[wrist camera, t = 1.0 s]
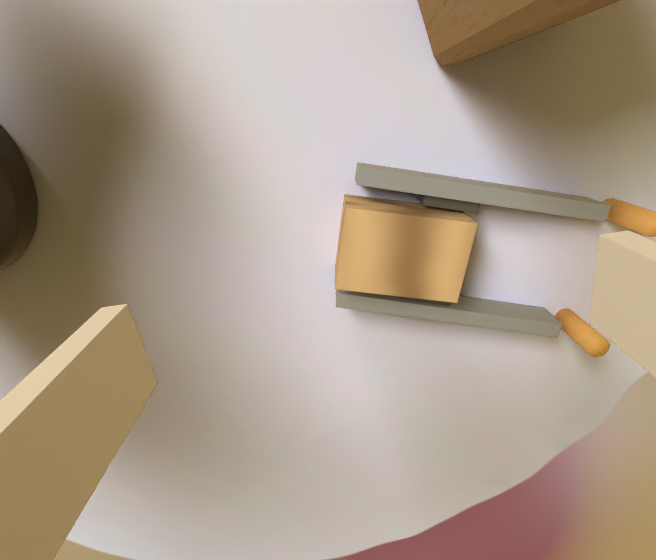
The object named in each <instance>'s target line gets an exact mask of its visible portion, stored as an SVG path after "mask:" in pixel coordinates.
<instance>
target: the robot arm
mask: <svg viewBox="0 0 656 560" xmlns="http://www.w3.org/2000/svg"><path fill="white" fill-rule="evenodd" d="M36 220H37V200H36V193H35V189H34V185H33V181H32V178H31V175H30V173H29V170H28V168H27V166H26V164H25V161H24V160H23V158H22V156H21V154H20V152H19V151H18V149H17V147H16V146H15V145H14V143H13V142H12V140H11V139H10V138H9V136H8V135H7V134H6V133H5V131H4V130H3V129H2V128H1V127H0V269H2V268H4V267H6V266H8V265H10V264H11V263H13V262H14V261H15V260H16V259H17V258H19V257H20V256H21V254H22V253H23V252H24V251H25V249H26V248H27V246H28V245H29V243H30V241H31V239H32V236H33V234H34V230H35V226H36ZM589 324H590V325H592V326H593V327H594V328H595V329H597V330H598V331H599V332H600V333H601V334H603V335H604V336H605V337H606V338H608V339H609V340H610V341H611V342H612V343H614V344H615V345H616V346H617V347H619V348H620V349H621V350H622V351H623V352H625V353H626V354H627V355H628V356H630V357H631V358H632V359H633V360H634V361H636V362H637V363H638V364H639V365H641V366H642V367H643V368H644V369H645V370H647V371H648V372H649V373H651V374H652V375H653V376H654V377H655V378H656V241H653V240H651V239H648V238H646V237H643V236H641V235H639V234H636V233H634V232H631V231H629V230H627V231H620V232H614V233H607V234H600V235H599V241H598V250H597V259H596V268H595V277H594V286H593V295H592V304H591V313H590V321H589ZM157 383H158V382H157V379H156V376H155V374H154V371H153V369H152V366H151V364H150V361H149V358H148V356H147V353H146V351H145V348H144V345H143V343H142V340H141V338H140V335H139V332H138V330H137V327H136V325H135V322H134V319H133V317H132V314H131V312H130V309H129V306H128V304H122V305H115V306H108V307H101V308H100V309H99V310H98V311H97V312H96V313H95V314H94V315H93V316H92V317H91V318H89V319H88V320H87V321H86V322H85V323H84V324H83V325H82V326H81V327H80V328H79V329H78V330H76V331H75V332H74V333H73V334H72V335H71V336H70V337H69V338H68V339H67V340H66V341H64V342H63V343H62V344H61V345H60V346H59V347H58V348H57V349H56V350H55V351H54V352H52V353H51V354H50V355H49V356H48V357H47V358H46V359H45V360H44V361H43V362H42V363H41V364H39V365H38V366H37V367H36V368H35V369H34V370H33V371H32V372H31V373H30V374H29V375H27V376H26V377H25V378H24V379H23V380H22V381H21V382H20V383H19V384H18V385H17V386H16V387H14V388H13V389H12V390H11V391H10V392H9V393H8V394H7V395H6V396H5V397H4V398H2V399H1V400H0V560H53V559H54V558H55V556H56V554H57V552H58V551H59V549H60V547H61V546H62V544H63V542H64V541H65V539H66V537H67V536H68V534H69V532H70V530H71V529H72V527H73V525H74V524H75V522H76V520H77V519H78V517H79V515H80V514H81V512H82V510H83V508H84V507H85V505H86V503H87V502H88V500H89V498H90V497H91V495H92V493H93V492H94V490H95V488H96V486H97V485H98V483H99V481H100V480H101V478H102V476H103V475H104V473H105V471H106V470H107V468H108V466H109V464H110V463H111V461H112V459H113V458H114V456H115V454H116V453H117V451H118V449H119V447H120V446H121V444H122V442H123V441H124V439H125V437H126V436H127V434H128V432H129V431H130V429H131V427H132V425H133V424H134V422H135V420H136V419H137V417H138V415H139V414H140V412H141V410H142V409H143V407H144V405H145V403H146V402H147V400H148V398H149V397H150V395H151V393H152V392H153V390H154V388H155V387H156V385H157Z"/></svg>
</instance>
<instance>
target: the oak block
mask: <svg viewBox="0 0 656 560" xmlns="http://www.w3.org/2000/svg"><path fill="white" fill-rule="evenodd" d="M477 226H478V223H477V222H476V221H474V220H473V219H472V218H470V217H469V216H468V215H467V214H465V213H464V212H463V211H459V210H452V209H446V208H439V207H432V206H426V205H422V204H421V203H413V202H404V201H396V200H388V199H379V198H371V197H362V196H354V195H346V194H345V195H344V202H343V210H342V218H341V225H340V233H339V240H338V248H337V256H336V263H335V289H337V290H346V291H355V292H364V293H373V294H382V295H391V296H400V297H409V298H418V299H427V300H436V301H444V302H453V303H457V302H458V298H459V294H460V290H461V287H462V283H463V279H464V275H465V271H466V268H467V264H468V260H469V256H470V252H471V248H472V245H473V241H474V237H475V233H476V229H477Z"/></svg>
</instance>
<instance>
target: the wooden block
mask: <svg viewBox="0 0 656 560" xmlns="http://www.w3.org/2000/svg"><path fill="white" fill-rule="evenodd" d="M617 1H620V0H418V3H419V6H420V10H421V13H422V17H423V20H424V23H425V27H426V30H427V34H428V37H429V41H430V44H431V48H432V51H433V54H434V57H435V58H436V59H437V61H438V62H439V63H440V64H441V65H455V64H457V63H460V62H463V61H465V60H468V59H470V58H473V57H475V56H478V55H481V54H483V53H486V52H488V51H491V50H493V49H496V48H499V47H501V46H504V45H506V44H509V43H511V42H514V41H517V40H519V39H522V38H524V37H527V36H530V35H532V34H535V33H537V32H540V31H542V30H545V29H548V28H550V27H553V26H555V25H558V24H560V23H563V22H566V21H568V20H571V19H573V18H576V17H578V16H581V15H584V14H586V13H589V12H591V11H594V10H597V9H599V8H602V7H604V6H607V5H609V4H612V3H615V2H617Z"/></svg>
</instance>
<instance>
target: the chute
mask: <svg viewBox="0 0 656 560" xmlns="http://www.w3.org/2000/svg"><path fill="white" fill-rule="evenodd" d="M355 181H356V184H357V185H361V186H368V187H374V188H381V189H388V190H394V191H401V192H408V193H414V194H417V199H418V200H419V201H420V203H421V204H422V205H426V206H432V207H439V208H446V209H452V210H459V211H466V212H472V213H477V211H478V207H479V204H480V203H481V204H487V205H494V206H501V207H507V208H514V209H521V210H527V211H534V212H541V213H547V214H554V215H561V216H567V217H574V218H580V219H587V220H594V221H600V222H605V220H609V221H611V222H614V223H616V224H619V225H621V226H624V227H626V228H629V229H631V230H634V231H636V232H639V233H641V234H644V235H646V236H649V237H654V236H656V212H654V211H651V210H648V209H645V208H642V207H638V206H635V205H632V204H629V203H626V202H623V201H619V200H616V199H607V200H605V201H604V202H599V201H596V200H593V199H590V198H587V197H581V196H575V195H568V194H562V193H555V192H548V191H542V190H535V189H529V188H522V187H516V186H509V185H503V184H496V183H489V182H483V181H476V180H470V179H463V178H457V177H450V176H444V175H437V174H431V173H424V172H417V171H411V170H404V169H398V168H391V167H385V166H378V165H372V164H365V163H357V169H356V175H355ZM336 307H339V308H346V309H353V310H361V311H368V312H375V313H382V314H390V315H397V316H404V317H412V318H419V319H426V320H433V321H441V322H448V323H455V324H462V325H470V326H477V327H484V328H491V329H499V330H506V331H513V332H521V333H528V334H535V335H542V336H550V337H557V336H558V334H559V332H560V329H561V328H563V329H564V330H565V331H566V332H567V333H568V334H569V335H570V336H571V337H572V338H573V339H574V340H575V341H576V342H577V343H578V344H579V345H580V346H581V347H582V348H584V349H585V350H586V351H587V352H588V353H589V354H590V355H591V356H594V357H598V356H602V355H604V354H605V353H606V352H607V351H608V350H609V347H610V344H609V342H608V341H607V340H606V339H605V338H604V337H603V336H601V335H600V334H599V333H598V332H597V331H595V330H594V329H593V328H592V327H591V326H590V325H588V324H587V323H586V322H585V321H584V320H582V319H581V318H580V317H579V316H578V315H576V314H575V313H574V312H573V311H572V310H570V309H562V310H560V311H559V312H558V313H557V314H556V316H555V317H554V316H553V315H552V314H551V313H550V312H549V311H547V310H546V309H545V308H543V307H535V306H528V305H521V304H514V303H507V302H500V301H493V300H486V299H478V298H471V297H464V296H459V298H458V302H457V303H453V302H444V301H436V300H427V299H418V298H409V297H400V296H391V295H382V294H373V293H364V292H355V291H346V290H337V289H336Z"/></svg>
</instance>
